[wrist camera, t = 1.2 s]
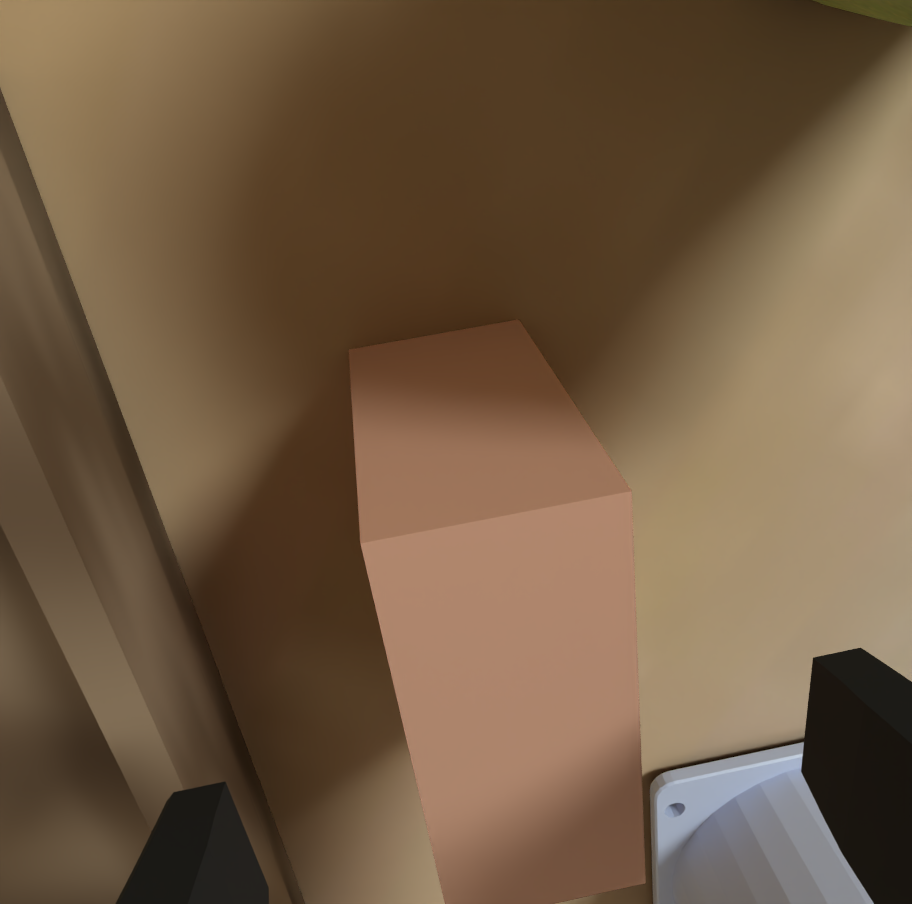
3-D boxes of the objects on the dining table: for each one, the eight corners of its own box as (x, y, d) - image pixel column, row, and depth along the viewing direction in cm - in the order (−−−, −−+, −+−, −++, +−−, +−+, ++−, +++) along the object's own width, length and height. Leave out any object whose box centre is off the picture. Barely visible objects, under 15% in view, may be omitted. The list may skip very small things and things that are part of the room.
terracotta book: (518, 318, 14) (631, 491, 9) (549, 624, 17) (645, 883, 12) (348, 348, 14) (359, 543, 9) (413, 652, 17) (450, 926, 12)
